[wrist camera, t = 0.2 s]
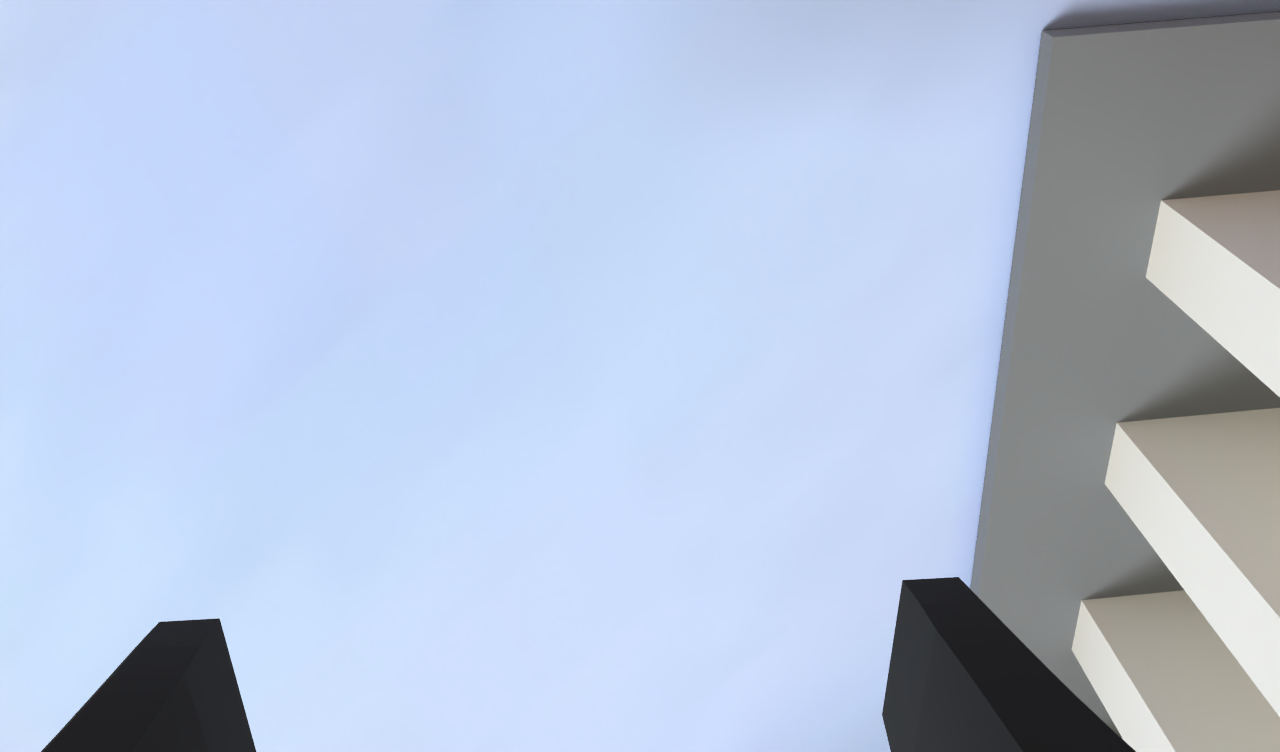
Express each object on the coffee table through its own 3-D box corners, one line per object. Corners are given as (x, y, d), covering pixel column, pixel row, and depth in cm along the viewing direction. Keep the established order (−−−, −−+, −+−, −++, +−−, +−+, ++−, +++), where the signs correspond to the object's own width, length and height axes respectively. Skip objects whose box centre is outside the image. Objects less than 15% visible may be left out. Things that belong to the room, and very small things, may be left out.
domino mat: (1247, 903, 33) (1256, 918, 33) (925, 937, 33) (930, 953, 32) (1591, -14, 19) (1615, -8, 19) (1042, 30, 19) (1053, 37, 18)
